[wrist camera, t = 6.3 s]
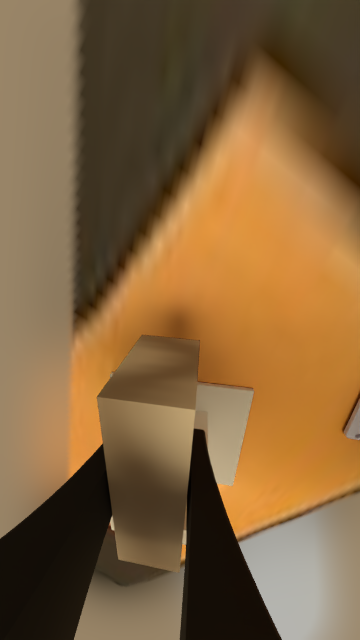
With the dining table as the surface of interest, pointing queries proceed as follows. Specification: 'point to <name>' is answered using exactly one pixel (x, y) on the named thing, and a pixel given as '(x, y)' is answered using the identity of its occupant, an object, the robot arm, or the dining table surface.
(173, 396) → the wooden bar
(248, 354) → the dining table surface
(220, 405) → the mat
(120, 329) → the dining table surface
